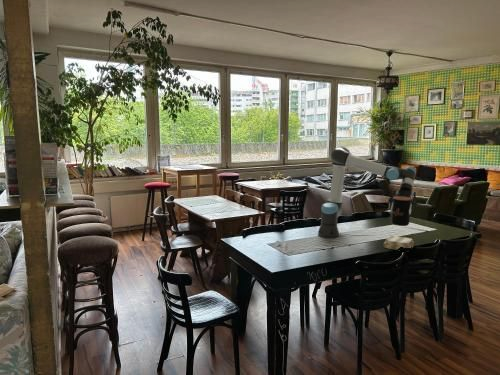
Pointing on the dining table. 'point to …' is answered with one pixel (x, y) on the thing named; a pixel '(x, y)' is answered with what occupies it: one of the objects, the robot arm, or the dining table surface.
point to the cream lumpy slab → (398, 242)
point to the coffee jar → (401, 210)
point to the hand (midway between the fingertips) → (400, 212)
